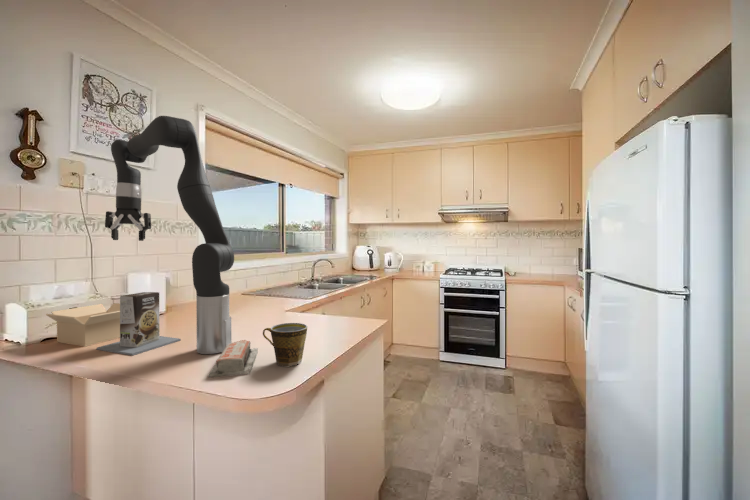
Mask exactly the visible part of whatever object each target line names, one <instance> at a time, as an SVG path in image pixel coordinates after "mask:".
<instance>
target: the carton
mask: <svg viewBox="0 0 750 500" xmlns="http://www.w3.org/2000/svg"><path fill="white" fill-rule="evenodd" d="M45 315H46V316H47V317H49V318H50V319H52V320H54V321H55V322H56V338H57V339H56V343H61V344H68V345H73V346H81V347H89V346H92V345H97V344H100V343H105V342H108V341H113V340H116V339H120V302H119V303H118V302H117V303H116V302H115V303H112V304H111V306H110V307H108V309H107V308H105V306H104V305H103V303H99V304H98V303H97V304H92V305H91V304H90V305H85V306H79V307H73V308H66V309H61V310H60V309H59V310H55V311H54V310H53V311H51V313H46V314H45Z"/></svg>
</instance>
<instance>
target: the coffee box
mask: <svg viewBox="0 0 750 500" xmlns="http://www.w3.org/2000/svg"><path fill="white" fill-rule="evenodd" d="M119 304H120V338H119V341H120V346H124V347H134V348H136V347H139V346H142V345H145V344H148V343H151V342H154V341H157V340H159V339H160V338H159V336H160V292H157V291H156V292H154V291H148V292H147V291H146V292H145V291H144V292H143V291H142V292H136V293H130V294H124V295H120V296H119Z"/></svg>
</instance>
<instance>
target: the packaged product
mask: <svg viewBox="0 0 750 500" xmlns="http://www.w3.org/2000/svg"><path fill="white" fill-rule="evenodd" d="M258 350H259V347H254V348H253V347H252V348H251V341H250V340H246V339H241V340H238V341H234V342H231V344H228V345H227V346H226V348H225V349H224V351H223V352H221V354H220V355H219V356H218V358H217V360H216V361H215V365H214V366H213V367H212V369H211V370H210V372H209V373H208V378H218V377H219V378H221V377H230V376H231V377H232V376H243V375H250V374H251V372H252V369H253V367H254V364H255V361H256V359H257V355H258V352H259V351H258Z"/></svg>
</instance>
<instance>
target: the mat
mask: <svg viewBox="0 0 750 500" xmlns="http://www.w3.org/2000/svg"><path fill="white" fill-rule="evenodd" d="M159 338H160V339H159V340H157V341H154V342H151V343H148V344H145V345H142V346H139V347H136V348H134V347H124V346H120V340H119V341H117V342H113V343H110V344H105V345H101V346H98V347H97V346H96V350H98V351H103V352H109V353H115V354H121V355H127V356H135V355H139V354H142V353H145V352H149V351H152V350H155V349H157V348H162V347H165V346H167V345H171V344H173V343H174V344H175V343H177V342H180V341H181V338H178V337H172V336H171V337H170V336H164V335H159Z"/></svg>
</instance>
